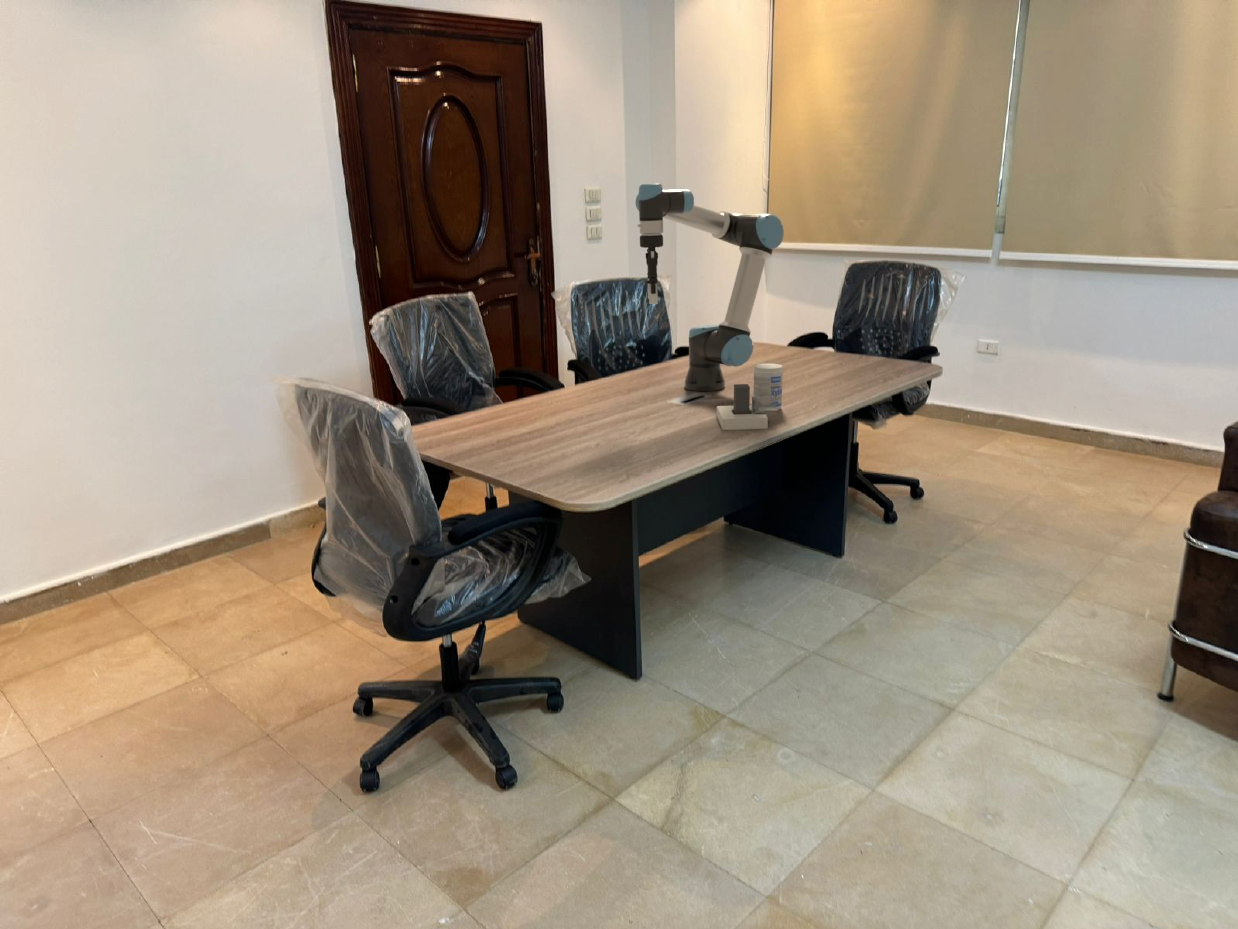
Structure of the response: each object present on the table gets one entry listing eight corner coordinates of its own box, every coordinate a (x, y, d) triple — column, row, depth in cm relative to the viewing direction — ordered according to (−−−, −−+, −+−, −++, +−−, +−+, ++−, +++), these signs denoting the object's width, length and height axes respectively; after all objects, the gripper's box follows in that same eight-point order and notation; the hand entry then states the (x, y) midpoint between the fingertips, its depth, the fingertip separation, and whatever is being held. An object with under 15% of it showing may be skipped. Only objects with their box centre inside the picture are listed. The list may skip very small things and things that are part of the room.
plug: (733, 420, 263) (733, 384, 259) (747, 420, 263) (747, 384, 259) (735, 424, 258) (735, 387, 255) (749, 424, 258) (749, 387, 255)
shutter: (751, 407, 262) (751, 396, 261) (773, 407, 262) (773, 395, 261) (754, 413, 256) (755, 401, 255) (777, 412, 256) (777, 400, 255)
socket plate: (716, 416, 268) (716, 406, 267) (759, 415, 268) (759, 404, 267) (722, 430, 253) (722, 419, 252) (767, 428, 253) (767, 417, 252)
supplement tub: (776, 413, 269) (777, 369, 265) (748, 410, 274) (749, 367, 269) (785, 406, 277) (786, 363, 272) (759, 403, 282) (759, 362, 277)
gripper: (638, 232, 273) (640, 296, 280) (640, 236, 249) (642, 306, 256) (661, 231, 273) (662, 296, 280) (664, 236, 249) (665, 305, 256)
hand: (652, 301), depth 268 cm, fingers open, 13 cm apart
